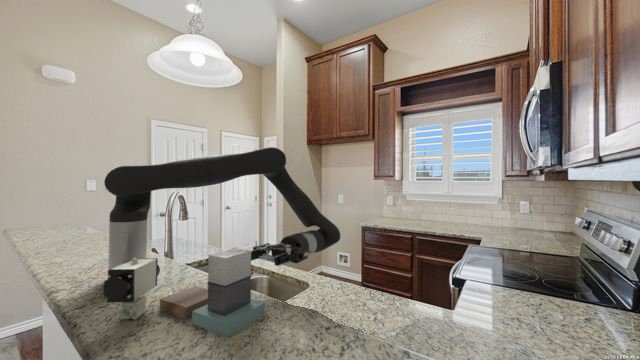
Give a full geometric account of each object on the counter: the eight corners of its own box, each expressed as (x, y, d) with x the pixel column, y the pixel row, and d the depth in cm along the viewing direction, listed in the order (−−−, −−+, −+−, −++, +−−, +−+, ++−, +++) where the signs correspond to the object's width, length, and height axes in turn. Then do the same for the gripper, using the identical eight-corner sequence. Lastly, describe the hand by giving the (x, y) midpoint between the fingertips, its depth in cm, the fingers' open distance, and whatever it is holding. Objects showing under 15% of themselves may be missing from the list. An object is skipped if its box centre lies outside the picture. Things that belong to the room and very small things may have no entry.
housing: (206, 310, 54) (207, 255, 54) (234, 298, 60) (234, 248, 60) (224, 316, 51) (225, 258, 52) (251, 302, 58) (251, 250, 58)
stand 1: (159, 310, 59) (160, 298, 60) (195, 296, 67) (196, 286, 67) (186, 319, 55) (186, 307, 55) (221, 303, 63) (221, 292, 63)
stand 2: (191, 323, 54) (192, 311, 54) (230, 304, 62) (230, 293, 62) (228, 337, 49) (228, 323, 49) (264, 314, 58) (264, 302, 58)
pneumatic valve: (160, 304, 63) (161, 252, 63) (126, 330, 51) (128, 266, 51) (135, 304, 62) (136, 252, 63) (95, 331, 51) (97, 266, 51)
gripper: (279, 231, 82) (239, 240, 68) (320, 235, 75) (286, 246, 61) (279, 256, 82) (239, 270, 68) (320, 262, 75) (286, 279, 61)
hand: (261, 258), depth 64 cm, fingers open, 8 cm apart
